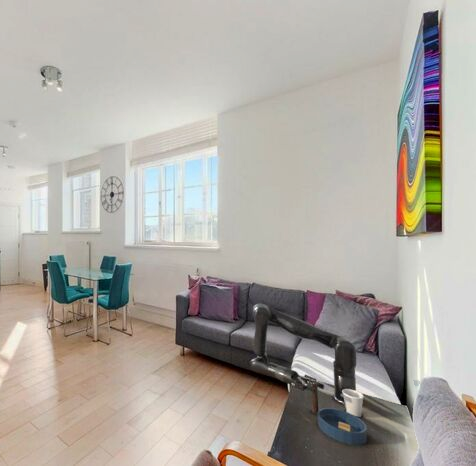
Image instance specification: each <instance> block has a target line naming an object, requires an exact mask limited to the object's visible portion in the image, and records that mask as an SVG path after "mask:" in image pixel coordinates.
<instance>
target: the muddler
mask: <svg viewBox="0 0 476 466" xmlns="http://www.w3.org/2000/svg"><path fill="white" fill-rule="evenodd" d="M316 382H317V381H316ZM316 382H312V385H311V386H312V387H314V388H316V389H317V393H314V392H311V394H312V408H311V412H312V413H313V414H315V415H318V414H317V413H318V411H319V410H320V409H319V391H318V388H319V387H317V383H316Z"/></svg>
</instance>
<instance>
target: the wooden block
mask: <svg viewBox="0 0 476 466" xmlns="http://www.w3.org/2000/svg"><path fill="white" fill-rule="evenodd" d="M338 428H339V429H341V430H345V431H349V432H351V431H350V425H348V424H345V423H342V422H339V426H338Z"/></svg>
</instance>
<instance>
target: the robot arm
mask: <svg viewBox="0 0 476 466" xmlns="http://www.w3.org/2000/svg"><path fill="white" fill-rule="evenodd" d="M252 315H253V318H254V337H253V342H252V343H253V346H252V351H253V354H254V355H255V356H256V357H255V358H252V359H251V360H250V362H249V366H250V368H251V370H253V371H254V372H256V373H258V374H263V375H268V376H271V377H273V378H275V379H276V380H277V379H278V380H279V381H281V382H283V383H285V384H287V385H290V386H291V387H292V388H294V389H298V390H300V391H302V392H305V391H309V392H311V393H312V392H314V393H317V389H316V388H314V387H312V382H316V383H317V387H318V388H319V389H321V390H324V389H325V385H324V383H321V382H319V381H317V378H315V377H313V376H310V375H308V374H304V376H303V375H300V374H299V373H298V371H296V370H293V369H291V368H289V367H286V366H283V365H280V364H277V363H274V362H269V359H268V354H267V347H268V346H267V345H268V343H267V341H268V340H267V339H268V328H269V327H268V326H269V324H270V322H271V323H274V324H276V325H277V326H279V327H280V328H281V329H283V330H285V331H286V332H288V333H289V334H292V335H293V336H296V337H298V338H300V339H303V340H306V341H311V342H316V343H319V344H321V345H323V346H326V347H327V348H330V349H331V350H333V351H334V360H333V361H332V364H333V365H332V369H333V371H332V372H333V388H334V389H333V390H334V391H333V392H334V397H333V398H334V400H335V401H336V402H338V403H339V404H342V405H344V406H345V401H344V396H343V392H342V390H344V389H351V390H355V391H357V381H356V379H357V378H356V367H357V349H356V346H355V345H354V344H353V343H352V342H351V341H350V340H349V339H348V338H346V337H345V336H342V335H338V334H335V333H332V332H328V331H326V330H323V329H321V328H319V327H317V326H315V325H313V324H312V323H309V322H307V321H304V320H302V319H299V318H296V317H294V316H291V315H289V314H286V313H284V312H281V311H279V310H276V309H275V308H272V307H270V306H268V305H267V304H264V303H256V304H254V305H253V307H252Z"/></svg>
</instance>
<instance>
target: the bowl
mask: <svg viewBox="0 0 476 466" xmlns="http://www.w3.org/2000/svg"><path fill="white" fill-rule="evenodd" d="M316 415H317V425H318V428H319V429H320V430H321V432H323V433H324V434H325V435H327V437H329V438H332V439H333V440H336V441H338V442H340V443H343V444H348V445H350V446H351V445H352V446H353V445H354V446H360V445H365V444H366V443H367V442H368V425H366V423H365V422H364V420H362V419H361V418H360V417H359V416H355V415H353V414H350V413H348V412H346V410H342V409H338V408H334V407H324V408H320V409H319V411H318V413H317V414H316ZM339 422H342V423H345V424H348V425H350V431H351V432H349V431H345V430H341V429H339V428H338V426H339Z"/></svg>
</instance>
